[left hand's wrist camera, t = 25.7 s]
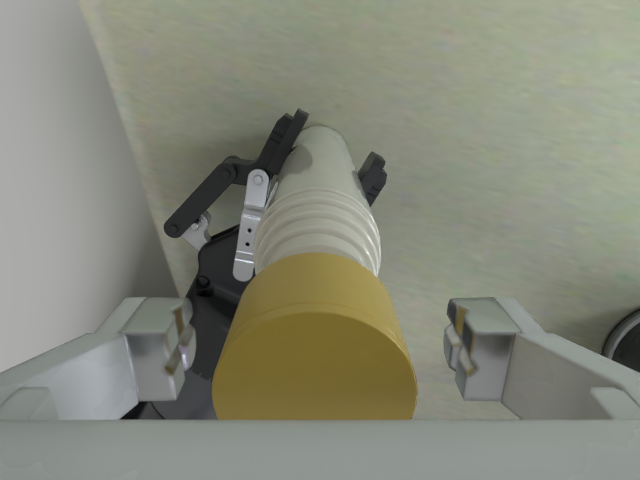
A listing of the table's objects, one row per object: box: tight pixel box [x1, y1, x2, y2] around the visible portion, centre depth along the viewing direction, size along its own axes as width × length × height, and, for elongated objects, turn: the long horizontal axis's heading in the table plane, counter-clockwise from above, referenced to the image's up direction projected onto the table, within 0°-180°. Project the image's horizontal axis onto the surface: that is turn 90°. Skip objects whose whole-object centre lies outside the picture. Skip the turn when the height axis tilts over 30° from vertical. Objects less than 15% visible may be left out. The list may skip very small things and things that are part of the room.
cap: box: [212, 252, 418, 420], centre depth 9 cm, size 4×4×3 cm
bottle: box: [253, 126, 381, 278], centre depth 19 cm, size 4×4×24 cm
